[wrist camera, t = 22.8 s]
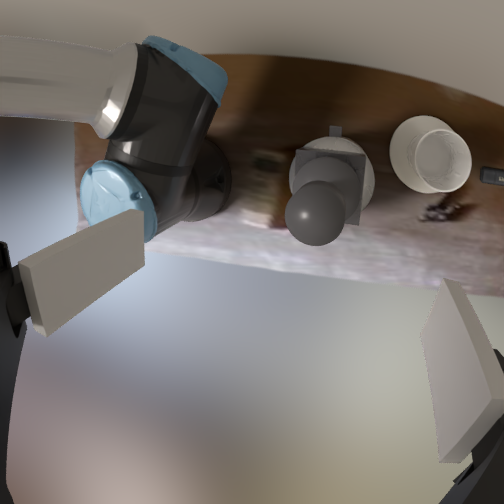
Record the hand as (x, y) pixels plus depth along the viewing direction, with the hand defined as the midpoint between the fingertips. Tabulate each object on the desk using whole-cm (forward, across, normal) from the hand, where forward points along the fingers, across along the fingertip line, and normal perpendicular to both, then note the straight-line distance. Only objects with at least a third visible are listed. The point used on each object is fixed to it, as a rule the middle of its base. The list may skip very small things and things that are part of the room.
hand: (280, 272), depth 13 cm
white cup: (+39, +14, +5) cm, 41 cm away
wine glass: (+25, 0, 0) cm, 25 cm away
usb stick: (+40, +28, +6) cm, 50 cm away
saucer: (+40, +14, +5) cm, 42 cm away
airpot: (+40, 0, 0) cm, 40 cm away
